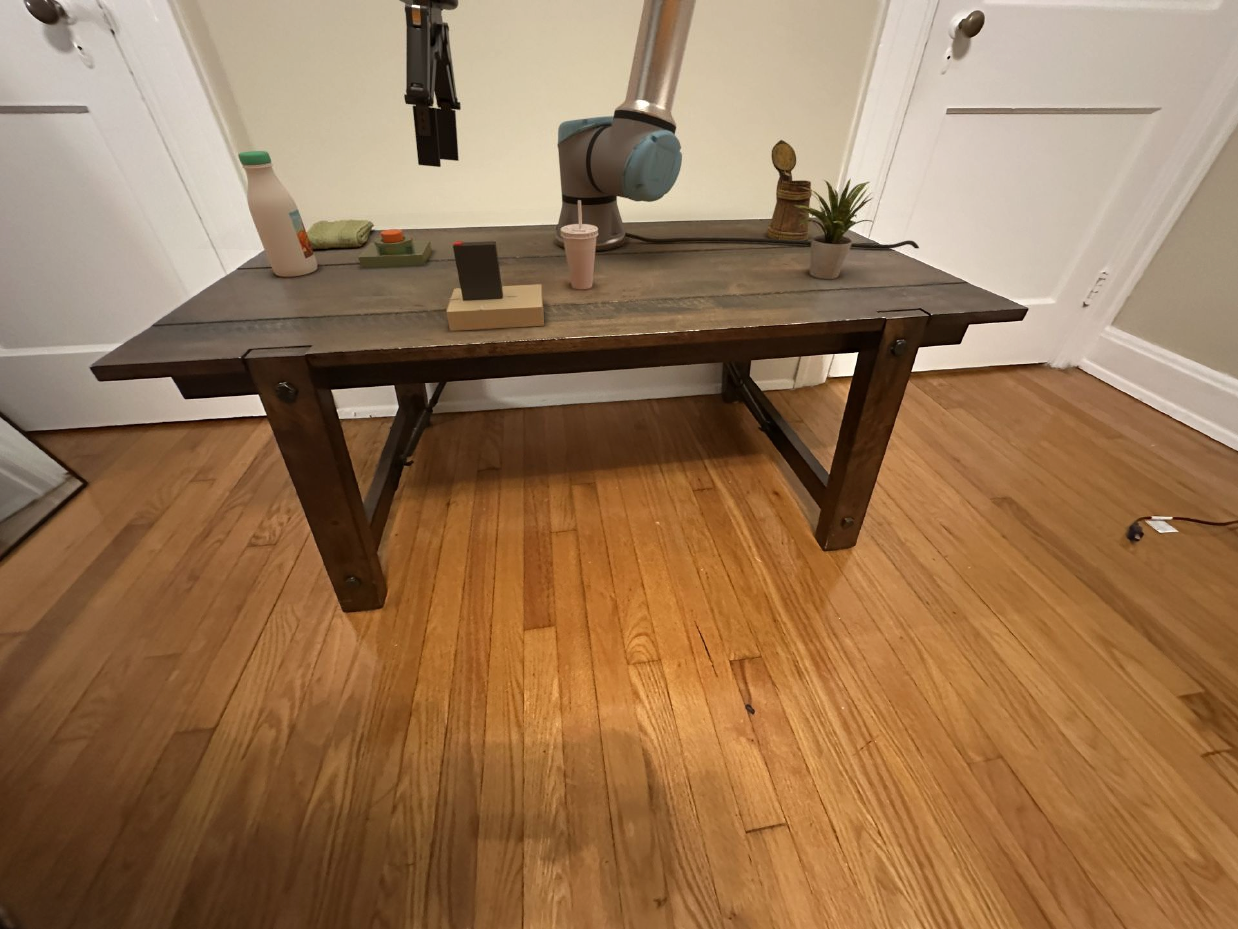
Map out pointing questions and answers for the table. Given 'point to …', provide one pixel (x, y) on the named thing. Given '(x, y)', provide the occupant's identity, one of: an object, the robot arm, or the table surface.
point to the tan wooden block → (498, 309)
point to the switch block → (395, 253)
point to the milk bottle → (276, 218)
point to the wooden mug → (788, 198)
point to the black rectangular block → (478, 270)
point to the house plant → (833, 230)
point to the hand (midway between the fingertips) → (440, 163)
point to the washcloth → (339, 234)
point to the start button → (392, 235)
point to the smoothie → (580, 251)
